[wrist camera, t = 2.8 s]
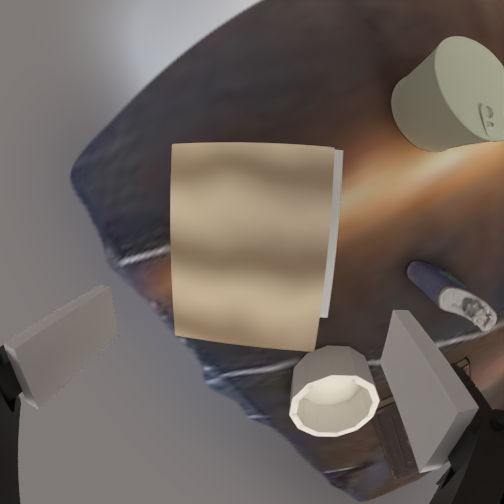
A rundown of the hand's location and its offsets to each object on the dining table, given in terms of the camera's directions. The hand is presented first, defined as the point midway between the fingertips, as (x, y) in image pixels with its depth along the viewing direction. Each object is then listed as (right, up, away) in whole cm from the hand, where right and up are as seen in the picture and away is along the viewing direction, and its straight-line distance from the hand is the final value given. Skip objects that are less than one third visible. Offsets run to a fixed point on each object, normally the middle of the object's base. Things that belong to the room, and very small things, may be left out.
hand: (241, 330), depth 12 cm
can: (+20, +19, +13) cm, 30 cm away
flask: (+22, 0, +17) cm, 28 cm away
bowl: (+11, -13, +21) cm, 27 cm away
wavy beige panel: (0, +4, +12) cm, 12 cm away
